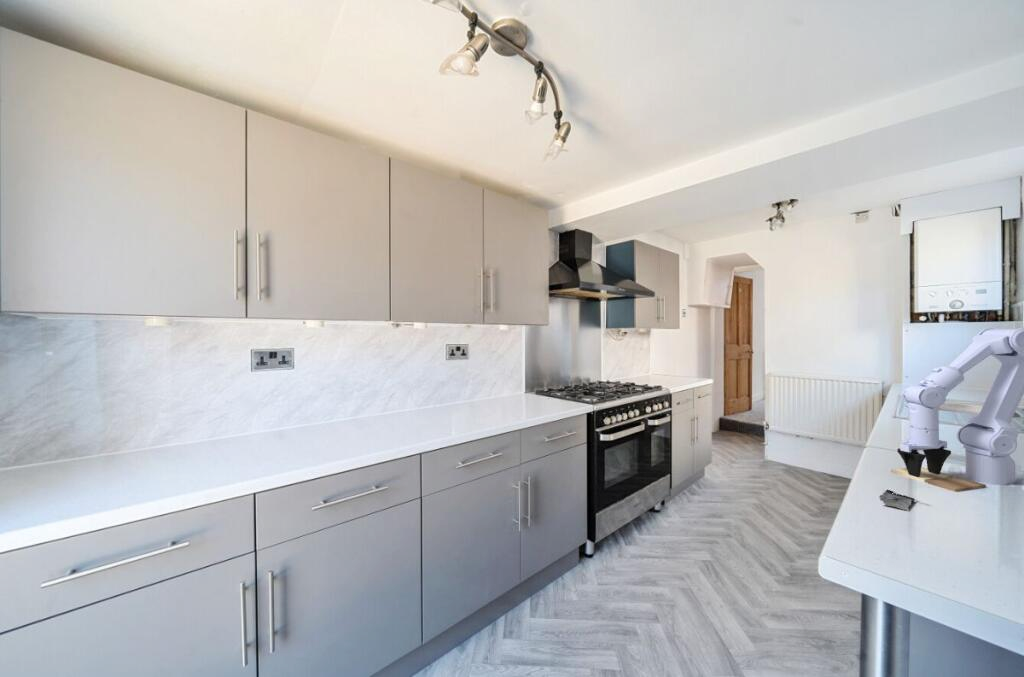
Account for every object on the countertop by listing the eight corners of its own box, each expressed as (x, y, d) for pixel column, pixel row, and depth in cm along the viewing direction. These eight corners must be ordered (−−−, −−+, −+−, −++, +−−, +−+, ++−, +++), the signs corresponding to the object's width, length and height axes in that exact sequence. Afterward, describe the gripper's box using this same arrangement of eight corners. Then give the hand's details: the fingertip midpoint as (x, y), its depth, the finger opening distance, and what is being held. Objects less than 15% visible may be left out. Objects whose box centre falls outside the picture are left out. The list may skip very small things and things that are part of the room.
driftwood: (907, 515, 89) (906, 506, 89) (869, 504, 95) (869, 496, 95) (930, 495, 100) (930, 487, 100) (895, 486, 106) (895, 479, 106)
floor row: (913, 471, 114) (913, 464, 114) (985, 491, 99) (985, 484, 99) (885, 474, 112) (885, 468, 112) (955, 496, 97) (955, 489, 97)
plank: (917, 471, 113) (917, 466, 113) (952, 480, 106) (952, 475, 105) (891, 474, 111) (890, 469, 111) (924, 484, 103) (924, 479, 103)
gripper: (924, 422, 112) (925, 467, 112) (887, 425, 109) (888, 471, 109) (956, 428, 105) (957, 475, 105) (918, 432, 102) (918, 481, 102)
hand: (924, 474), depth 107 cm, fingers open, 7 cm apart
